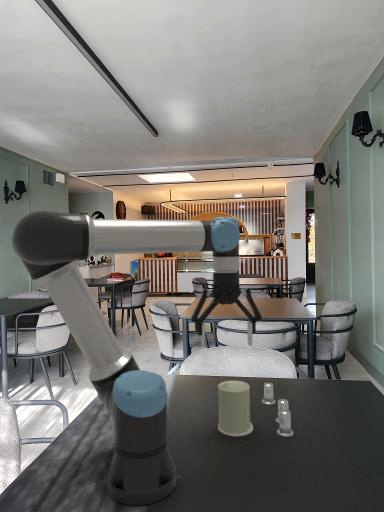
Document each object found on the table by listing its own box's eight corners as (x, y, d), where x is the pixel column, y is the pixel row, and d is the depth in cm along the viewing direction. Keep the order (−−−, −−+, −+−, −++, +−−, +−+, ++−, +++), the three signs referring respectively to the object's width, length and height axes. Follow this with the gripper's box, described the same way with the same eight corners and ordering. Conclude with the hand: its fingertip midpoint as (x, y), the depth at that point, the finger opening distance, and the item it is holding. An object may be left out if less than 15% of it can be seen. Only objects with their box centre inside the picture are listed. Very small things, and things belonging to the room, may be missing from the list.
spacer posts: (302, 435, 103) (302, 413, 103) (233, 441, 101) (232, 418, 101) (273, 398, 128) (272, 381, 128) (216, 402, 126) (216, 384, 126)
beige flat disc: (257, 435, 104) (257, 432, 104) (221, 437, 103) (221, 435, 103) (247, 418, 114) (247, 416, 114) (215, 421, 113) (215, 419, 113)
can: (218, 418, 114) (218, 378, 113) (249, 418, 113) (249, 379, 112) (218, 433, 104) (217, 390, 104) (251, 434, 103) (250, 390, 103)
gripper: (264, 270, 113) (265, 340, 113) (181, 271, 111) (182, 343, 111) (272, 271, 105) (273, 347, 106) (183, 273, 103) (184, 350, 104)
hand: (226, 345), depth 108 cm, fingers open, 13 cm apart
